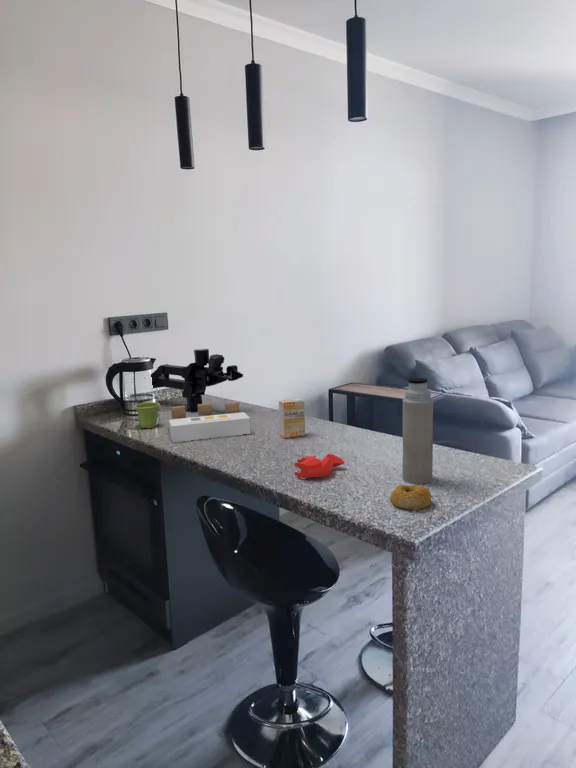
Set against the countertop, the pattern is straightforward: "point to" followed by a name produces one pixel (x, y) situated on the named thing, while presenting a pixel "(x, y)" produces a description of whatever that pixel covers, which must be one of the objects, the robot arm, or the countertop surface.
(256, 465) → the countertop surface
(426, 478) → the thermos bottle
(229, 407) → the key
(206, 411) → the key middle
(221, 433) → the key console
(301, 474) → the animal figurine
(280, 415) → the supplement box
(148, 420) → the plant pot
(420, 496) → the bagel
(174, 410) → the key
